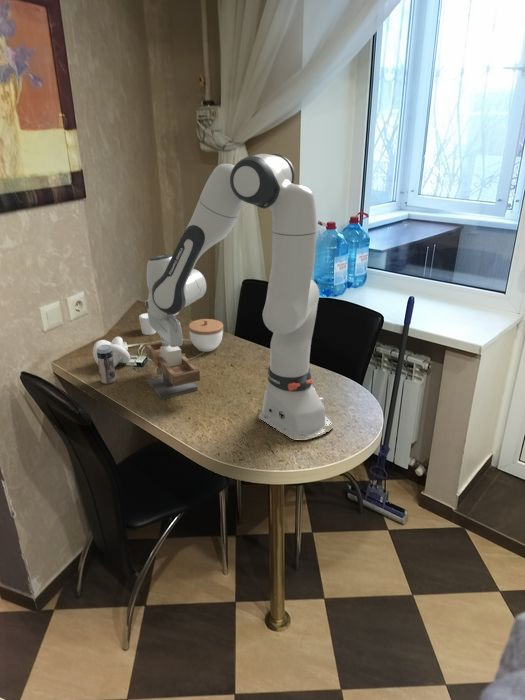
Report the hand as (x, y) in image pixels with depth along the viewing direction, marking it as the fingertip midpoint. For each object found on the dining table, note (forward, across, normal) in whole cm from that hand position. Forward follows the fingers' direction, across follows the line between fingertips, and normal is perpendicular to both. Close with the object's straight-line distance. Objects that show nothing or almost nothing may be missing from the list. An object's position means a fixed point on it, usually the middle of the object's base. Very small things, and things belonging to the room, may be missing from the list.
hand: (166, 349), depth 157 cm
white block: (+3, -4, 0) cm, 5 cm away
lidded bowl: (+12, +18, -22) cm, 31 cm away
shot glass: (+12, +42, -8) cm, 44 cm away
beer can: (+12, +9, +17) cm, 23 cm away
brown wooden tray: (+12, -4, 0) cm, 12 cm away
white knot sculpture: (+12, +20, +13) cm, 27 cm away
